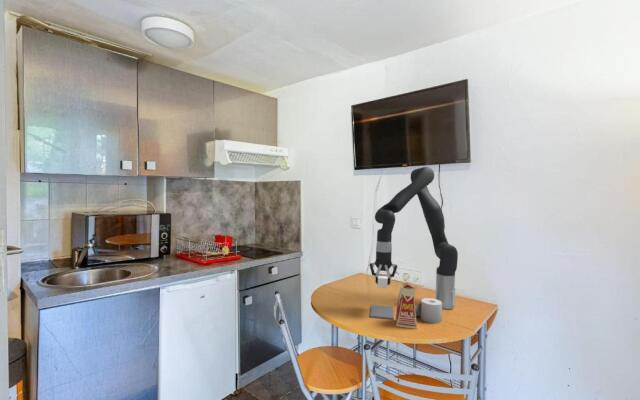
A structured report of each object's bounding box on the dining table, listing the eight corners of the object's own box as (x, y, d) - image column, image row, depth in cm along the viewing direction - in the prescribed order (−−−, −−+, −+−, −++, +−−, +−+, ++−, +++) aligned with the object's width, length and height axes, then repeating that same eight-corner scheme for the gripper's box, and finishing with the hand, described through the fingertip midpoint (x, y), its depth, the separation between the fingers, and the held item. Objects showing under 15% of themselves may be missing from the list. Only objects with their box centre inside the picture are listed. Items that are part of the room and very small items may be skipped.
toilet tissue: (409, 316, 156) (410, 298, 155) (435, 315, 158) (435, 297, 158) (418, 324, 147) (419, 305, 147) (445, 322, 149) (446, 304, 149)
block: (377, 278, 153) (378, 271, 164) (377, 287, 153) (378, 280, 165) (387, 278, 152) (387, 272, 164) (387, 288, 152) (387, 281, 164)
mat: (371, 306, 168) (371, 304, 168) (393, 308, 166) (393, 306, 166) (369, 317, 153) (370, 315, 153) (393, 319, 151) (393, 318, 151)
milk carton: (417, 328, 142) (419, 283, 141) (396, 326, 144) (397, 282, 143) (415, 320, 151) (417, 278, 150) (395, 318, 152) (396, 276, 152)
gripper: (398, 249, 161) (397, 283, 161) (369, 248, 164) (368, 281, 164) (398, 252, 154) (397, 288, 154) (368, 250, 157) (367, 285, 157)
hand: (382, 284), depth 159 cm, fingers closed on block, 4 cm apart
